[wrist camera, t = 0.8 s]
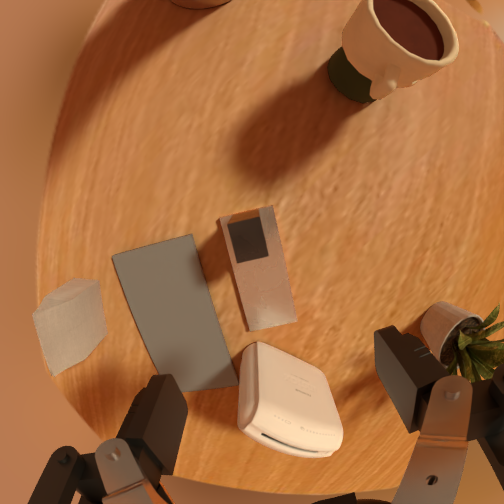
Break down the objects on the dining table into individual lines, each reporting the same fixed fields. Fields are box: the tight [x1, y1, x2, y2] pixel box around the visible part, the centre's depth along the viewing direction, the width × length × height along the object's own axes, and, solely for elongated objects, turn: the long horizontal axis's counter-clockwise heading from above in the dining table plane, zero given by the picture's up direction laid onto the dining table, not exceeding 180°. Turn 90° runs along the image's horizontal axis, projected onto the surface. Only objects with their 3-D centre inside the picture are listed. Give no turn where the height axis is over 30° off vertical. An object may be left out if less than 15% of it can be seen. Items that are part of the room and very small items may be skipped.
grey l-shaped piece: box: [220, 205, 297, 331], centre depth 25 cm, size 12×5×7 cm, turn 13°
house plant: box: [420, 302, 504, 383], centre depth 22 cm, size 14×14×16 cm
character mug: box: [327, 0, 459, 103], centre depth 17 cm, size 11×7×13 cm, turn 160°
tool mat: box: [112, 234, 239, 392], centre depth 30 cm, size 18×9×1 cm, turn 14°
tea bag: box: [32, 278, 108, 377], centre depth 25 cm, size 4×7×10 cm, turn 178°
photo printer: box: [237, 341, 343, 458], centre depth 25 cm, size 10×4×12 cm, turn 58°
